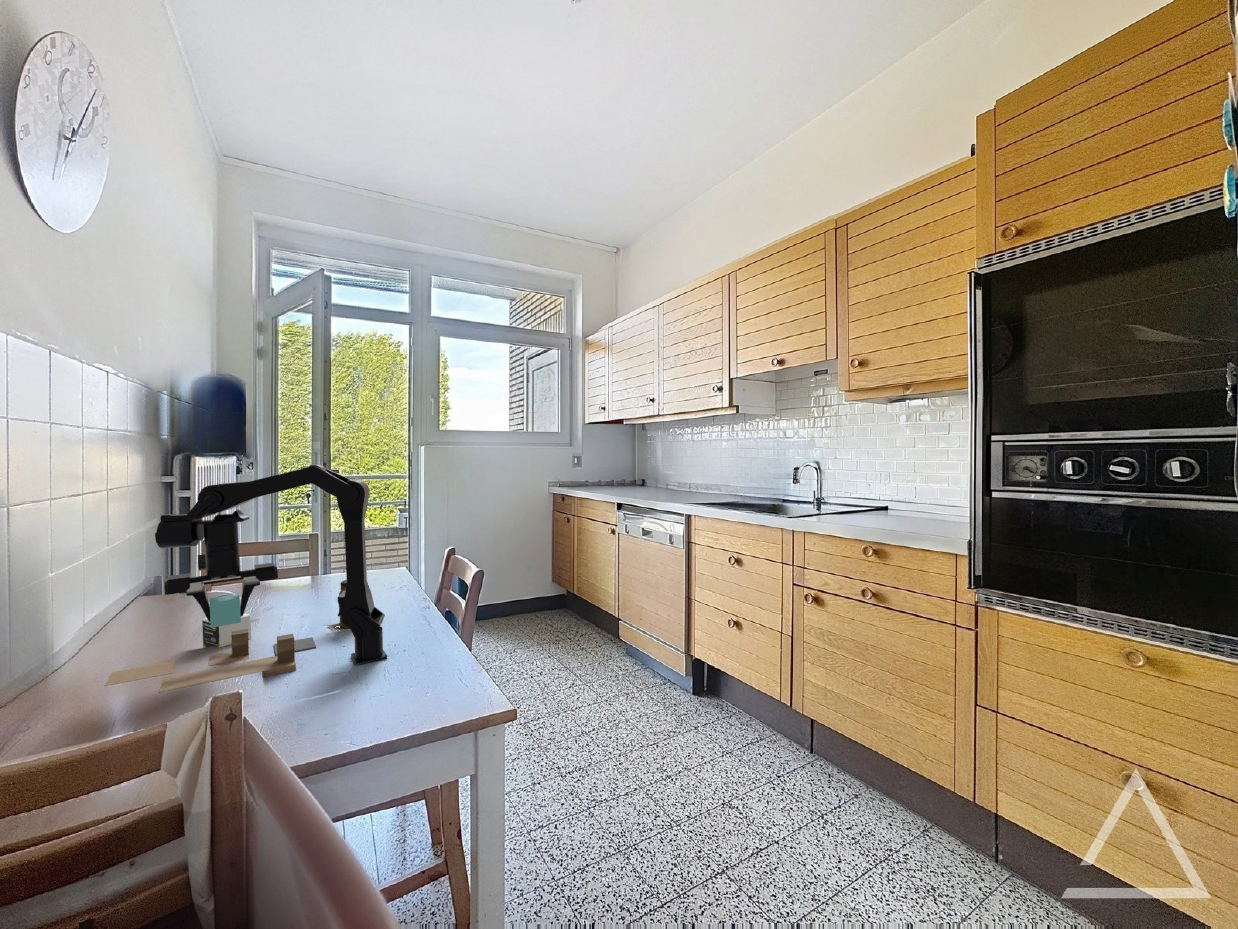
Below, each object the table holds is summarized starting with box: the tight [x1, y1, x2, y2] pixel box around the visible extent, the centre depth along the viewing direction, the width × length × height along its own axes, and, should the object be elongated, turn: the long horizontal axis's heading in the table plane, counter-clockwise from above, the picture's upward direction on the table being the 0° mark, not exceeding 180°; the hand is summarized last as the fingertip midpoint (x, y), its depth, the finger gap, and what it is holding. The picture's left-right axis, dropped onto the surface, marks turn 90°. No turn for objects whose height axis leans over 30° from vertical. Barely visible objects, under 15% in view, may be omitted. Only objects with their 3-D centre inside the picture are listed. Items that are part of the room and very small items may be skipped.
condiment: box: [327, 579, 351, 634], centre depth 143 cm, size 7×8×12 cm
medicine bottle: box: [201, 593, 252, 649], centre depth 129 cm, size 7×7×12 cm
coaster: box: [273, 636, 317, 656], centre depth 128 cm, size 8×8×1 cm
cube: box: [209, 593, 241, 628], centre depth 113 cm, size 5×5×5 cm
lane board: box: [104, 660, 176, 687], centre depth 108 cm, size 21×21×2 cm
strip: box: [159, 633, 297, 693], centre depth 111 cm, size 8×22×6 cm, turn 125°
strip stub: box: [208, 629, 250, 667], centre depth 119 cm, size 8×7×6 cm
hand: (226, 618), depth 113 cm, fingers closed on cube, 5 cm apart
